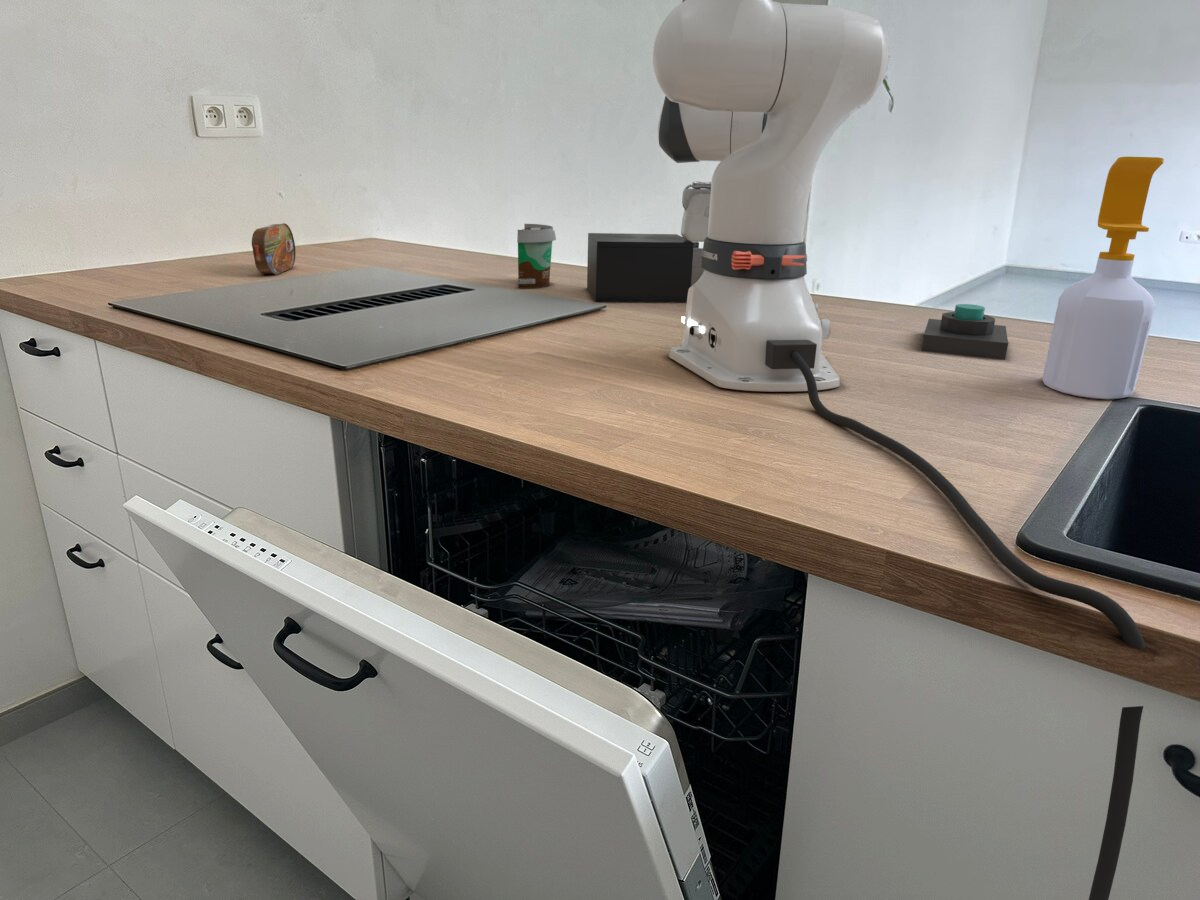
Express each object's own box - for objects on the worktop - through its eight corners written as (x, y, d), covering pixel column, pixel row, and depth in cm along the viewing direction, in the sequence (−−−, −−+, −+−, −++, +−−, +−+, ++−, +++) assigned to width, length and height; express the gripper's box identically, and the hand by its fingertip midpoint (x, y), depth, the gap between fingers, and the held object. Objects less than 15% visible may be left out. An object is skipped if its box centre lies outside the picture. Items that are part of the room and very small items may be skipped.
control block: (1005, 360, 108) (1011, 328, 107) (921, 351, 112) (926, 320, 110) (1002, 341, 118) (1008, 312, 117) (926, 333, 122) (930, 305, 121)
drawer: (731, 285, 153) (734, 240, 150) (749, 296, 142) (753, 248, 140) (627, 284, 150) (629, 239, 148) (638, 296, 140) (640, 247, 137)
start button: (982, 323, 112) (985, 309, 111) (953, 320, 113) (955, 307, 112) (982, 318, 115) (984, 305, 114) (953, 315, 116) (955, 303, 115)
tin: (269, 277, 153) (264, 229, 150) (251, 277, 153) (246, 228, 150) (298, 266, 167) (294, 221, 164) (282, 265, 167) (278, 220, 164)
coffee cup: (553, 290, 148) (553, 231, 144) (517, 289, 148) (517, 230, 145) (557, 279, 159) (558, 224, 156) (524, 278, 160) (524, 223, 156)
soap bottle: (1046, 394, 93) (1097, 155, 85) (1037, 375, 101) (1083, 155, 93) (1140, 404, 90) (1202, 158, 82) (1123, 383, 98) (1178, 157, 90)
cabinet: (674, 289, 152) (677, 234, 149) (690, 302, 141) (693, 242, 137) (586, 289, 150) (588, 232, 147) (595, 302, 139) (597, 241, 135)
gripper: (687, 182, 133) (682, 272, 137) (814, 185, 135) (805, 273, 140) (679, 180, 139) (674, 266, 143) (801, 183, 141) (792, 268, 146)
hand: (740, 270), depth 142 cm, fingers closed
